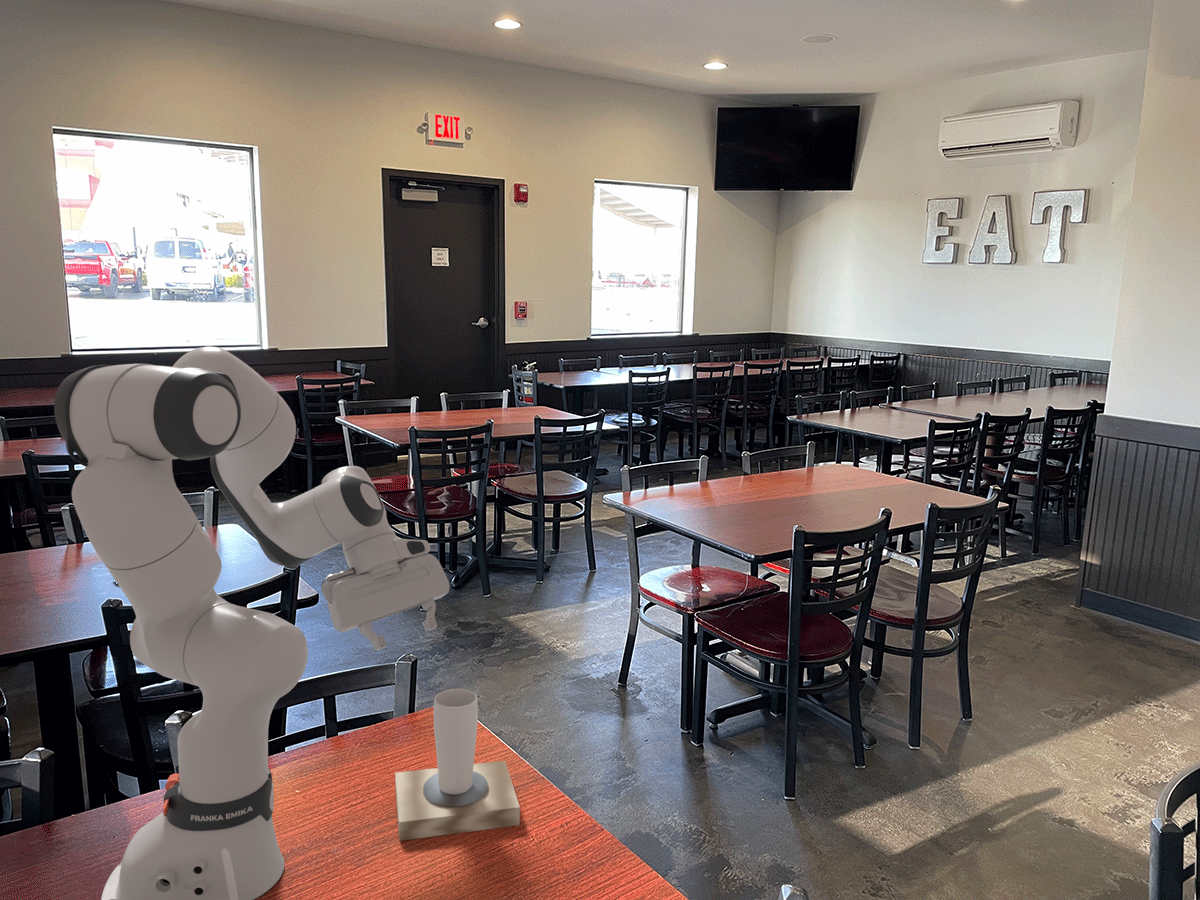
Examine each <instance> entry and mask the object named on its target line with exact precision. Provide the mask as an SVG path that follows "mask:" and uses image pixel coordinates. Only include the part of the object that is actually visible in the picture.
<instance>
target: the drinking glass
mask: <svg viewBox="0 0 1200 900" xmlns="http://www.w3.org/2000/svg"><path fill="white" fill-rule="evenodd" d="M478 701H479V700H478V695H477V694H476V693H475V692H474V691H472V690H468V689H466V688H450V689H446V690H442V691H441V692H439V693H437V694H436V695H435V696H434V699H433V731H434V742H435V753H436V763H437V764H436V765H437V768H438V785H439V788H440V790H441V791H442V792H444V793H446V794H451V795H457V794H462V793H465V792H467V791H468V790H469V789H470V788H471V787H472V784H473V766H474V764H475V754H476V744H477V731H478V725H479V723H478V722H479V720H478V719H479V706H478V704H479V702H478Z"/></svg>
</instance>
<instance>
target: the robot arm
mask: <svg viewBox="0 0 1200 900" xmlns="http://www.w3.org/2000/svg"><path fill="white" fill-rule="evenodd" d="M53 407H54V408H53V409H54V418H55V422H56V426H57V429H58V431H59V433H60V435H61V437H62V439H63V441H64V442H65V447H66V452H67V454H68V456H69V457H71V458H72V459H73V460H74V461H75V462H76V463H78V464H80V465H82V466H83V467H85V468H84V469H82V470H81V471H80V472H79V474H78V475H77V477H76V478H75V480H74V483H73V484H72V488H71V500H72V503H73V505H74V509H75V513H76V514H77V517H78V519H79V521H80V524H81V526H82V528H83V530H84V533H85V534H86V536H87V538H88V540H89V542H90V544H91V546H92V547H93V549H94V550H95V552H96V554H97V555H98V557H99V559H100V560H101V562H102V563H103V564H104V566H105V567H106V569H107V570H108V572H109V574H111V576H112V577H113V580H114V579H115V581H116V582H117V584H118V585H117V586H118V587H119V588H120V590H121V592H123V594H124V596H125V597H126V598H127V600H128V601H129V603H130V605H131V607H132V609H133V611H134V614H135V619H134V620H133V623H132V626H131V629H130V634H129V644H130V649H131V651H132V655H133V656H134V657H135V658H136V660H137V661H139V662H140V663H142V664H143V665H144V666H146V667H148V668H149V669H150V670H152V671H154V672H155V673H157V674H158V675H161V676H162V677H165V678H168V679H170V680H171V679H172V680H175V681H179V682H182V683H185V684H190V685H191V686H196V687H199V690H200V692H201V694H202V698H203V699H202V707H201V711H199V712H198V713H196V714H194V715H193V716H192V717H191V718H190V719H189V720H188V721H186V723H184V724H183V726H182V727H181V729H180V730H179V733H178V736H177V740H176V741H177V746H176V747H177V762H178V763H177V764H178V773H176V772H175V773H172V774H170V775H168V776H169V777H168V778H167V780H166V783H165V786H164V789H165V793H164V794H163V795H164V796H163V805H162V812H161V813H159V815H157V816H155V818H152V819H151V820H150V821H149V822H147V823H146V824H144V825H143V826H142V827H140V829H139V830H138V831H136V832H135V834H134V835H133V837H132V838H131V839H130V841H129V843H128V845H127V847H126V849H125V851H124V854H123V856H122V860H121V862H120V863H119V864H117V865H116V867H115V868H114V870H113V871H112V872H111V874H109V877H108V878H107V880H106V881H105V882H106V883H105V885H104V887H103V890H102V894H101V897H100V900H255V899H257V898H259V897H261V896H262V895H263V894H266V892H268V891H269V890H270V889H271V888H272V887H274V886H275V885H276V883H277V882H278V881H279V880H280V878H282V877H281V876H282V875H283V873H284V870H285V858H284V857H283V855H282V853H281V849H280V847H279V844H278V841H277V836H276V830H275V827H274V821H273V813H274V809H275V804H274V803H275V802H274V801H275V797H274V796H275V794H274V791H275V790H274V782H273V775H272V771H271V769H270V768H269V725H270V720H271V715H272V712H273V710H274V708H275V706H276V704H277V702H278V701H279V699H280V698H282V697H284V696H285V695H287V694H288V693H289V692H290V691H291V690H292V689H294V688H295V686H296V685H298V683H299V681H300V680H301V678H302V677H303V675H304V672H305V670H306V667H307V665H308V657H309V647H308V642H307V638H306V636H305V634H304V632H303V631H302V630H301V629H300V628H299V627H297V626H296V625H294V624H292V623H290V622H289V621H287V620H285V619H283V618H282V617H279V616H277V615H275V614H273V613H271V612H267V611H263V610H258V609H253V608H249V607H245V606H240V605H238V604H237V605H236V604H234V603H231V602H228V601H227V600H226V599H224V598H223V597H221V596H220V595H219V594H218V593H217V592H216V590H215V587H216V585H217V582H218V580H219V578H220V575H221V572H222V567H223V566H222V565H223V564H222V560H221V559H222V558H221V557H220V555H219V553H218V552H217V550H216V547H215V546H214V544H213V543H212V541H211V539H210V537H209V535H208V534H207V533H206V530H205V529H204V527H203V526H202V523H201V522H200V521H199V519H198V517H197V515H196V513H195V512H194V510H193V509H192V507H191V505H190V504H189V503H188V501H187V500H186V498H185V497H184V495H183V494H182V492H181V490H179V488H178V487H177V484H176V481H175V478H174V472H173V460H178V459H179V460H183V461H196V460H202V459H203V460H204V459H207V458H209V463H210V464H209V465H210V472H211V474H212V477H213V479H214V481H215V484H216V486H217V487H218V490H220V491H221V494H222V495H223V496H224V497H225V499H226V500H227V502H228V503H229V505H230V506H231V507H232V508H233V510H234V511H235V512H236V514H237V516H239V518H240V519H241V520H242V522H243V523H244V524H245V526H246V527H247V528H248V529H249V530H250V532H251V534H253V536H254V538H255V540H256V541H257V543H258V545H259V547H260V548H261V551H262V552H263V554H264V555H265V556H266V557H267V559H268V560H269V561H270V562H272V563H273V564H275V565H279V566H280V567H281V566H282V567H286V568H296V567H298V566H300V565H302V564H303V563H305V562H307V561H309V560H311V559H312V558H314V557H315V556H316V555H319V554H322V553H323V552H325V551H328V550H330V549H332V548H334V547H336V546H339V545H340V544H341V545H342V553H343V555H344V558H345V561H346V563H347V566H348V568H347V569H344V570H342V571H339V572H336V573H331V574H328V575H326V577H325V579H323V581H322V582H321V585H320V590H321V593H322V595H323V598H324V600H325V601H326V602H327V606H328V610H329V615H330V618H331V623H332V626H333V628H334V630H336V631H337V632H339V633H345V632H348V631H351V630H354V629H356V628H358V631H359V633H360V635H361V636H363V637H364V638H365V639H367V640H368V641H369V642H371V645H372V647H373V650H374V651H376V652H377V651H380V650H383V649H385V648H386V647H387V642H386V639H385V636H384V635H380V636H378V634H377V633H376V632H374V631H373V630H372V629H373V628H374V626H373V622H377V621H379V620H382V619H386V618H388V617H390V616H393V615H396V614H400V613H402V612H405V611H408V610H411V609H414V608H416V607H419V606H421V607H422V610H423V611H426V615H425V616H426V619H425V620H424V621H422V622H421V623H422V625H423V627H424V630H425V632H430V631H433V630H435V629H437V628H438V624H437V621H436V618H435V616H436V609H437V607H436V606H437V603H436V602H435V601H436V600H440V599H441V598H443V597H444V596H446V595H448V594H449V592H450V591H449V590H450V581H449V579H448V577H447V575H446V573H445V571H444V568H443V567H442V564H441V562H440V561H439V560H438V559H437V557H436V556H434V555H433V554H430V553H429V552H430V551H431V545H430V543H429V542H428V540H424V539H407V538H397V535H396V532H395V531H394V530H393V528H392V527H391V525H390V523H389V522H388V518H387V510H386V508H385V505H384V503H383V500H382V498H381V496H380V494H379V492H378V490H377V488H376V487H375V485H374V483H373V481H372V479H371V477H370V476H369V474H368V473H367V471H366V470H365V469H364V468H363V467H360V466H357V465H346V466H342V467H337V468H336V469H333V470H331V471H330V472H327V474H326V475H324V476H323V478H322V480H321V484H320V485H318V486H316V487H313V488H312V489H310V490H308V491H305V492H304V493H301V494H299V495H297V496H295V497H292V498H290V499H288V500H285V501H282V502H281V501H280V502H271V500H270V498H269V497H268V496H267V493H265V492H264V490H263V489H262V488H261V485H260V484H261V483H262V482H263V481H264V480H265V478H267V477H268V476H269V475H270V474H271V473H272V472H274V471H275V470H276V469H278V467H280V466H281V465H282V463H284V461H285V460H286V459H287V457H288V455H289V454H290V452H291V450H292V448H293V446H294V442H295V440H296V439H295V438H296V433H297V424H296V419H295V415H294V413H293V411H292V410H291V408H290V406H289V405H288V404H287V402H286V401H285V400H284V398H283V397H282V396H281V395H280V394H279V393H278V391H276V389H274V388H273V386H271V385H270V383H269V382H268V381H266V380H265V379H264V377H263V376H261V375H260V374H259V372H257V371H255V369H253V368H252V367H251V366H249V365H248V364H247V363H246V362H244V361H243V360H241V359H240V358H239V357H237V355H236V356H235V355H234V354H233V353H231V352H229V351H228V350H225V349H224V348H221V347H217V346H202V347H197V348H195V349H191V350H189V351H188V352H186V353H185V354H183V355H182V356H181V357H180V358H178V360H177V361H175V363H174V364H173V365H172V366H166V365H155V364H152V363H151V364H150V363H126V364H125V363H124V364H115V365H112V364H97V365H92V366H88V367H84V368H82V369H80V370H77V371H75V372H72V373H71V374H70V375H68V376H67V377H65V378H64V379H63V380H62V382H61V383H60V384H59V386H58V388H57V389H56V393H55V396H54V404H53ZM75 454H76V455H75ZM77 456H78V457H79V458H78V457H77Z"/></svg>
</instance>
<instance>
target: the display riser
mask: <svg viewBox="0 0 1200 900" xmlns="http://www.w3.org/2000/svg"><path fill="white" fill-rule="evenodd" d="M509 771H510V770H509V768H508V765H507V761H506V760H499V761H489V762H480V763H474V766H473V784H472V787H471V788H470V789H469V790H468V791H467V792H465V793H462V794H457V795H451V794H446V793H444V792H442V791H441V790H440V788H439V785H438V767H435V768H427V769H417V770H407V771H399V772H398V771H397V772H394V775H395V776H394V777H395V779H394V784H395V785H394V787H395V788H394V789H395V802H396V814H397V825H398V827H397V828H398V841H399V842H400V841H407V840H408V841H409V840H417V839H423V838H429V837H430V838H431V837H438V836H439V837H440V836H445V835H446V836H447V835H454V834H455V835H456V834H461V833H471V832H478V831H485V830H493V829H501V828H508V827H516V826H521V824H520V823H521V822H520V821H521V806H520V804H519V803H520V802H519V799H518V797H517V794H516V791H515V787H514V784H513V781H512V778H511V775H510V772H509Z"/></svg>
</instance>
